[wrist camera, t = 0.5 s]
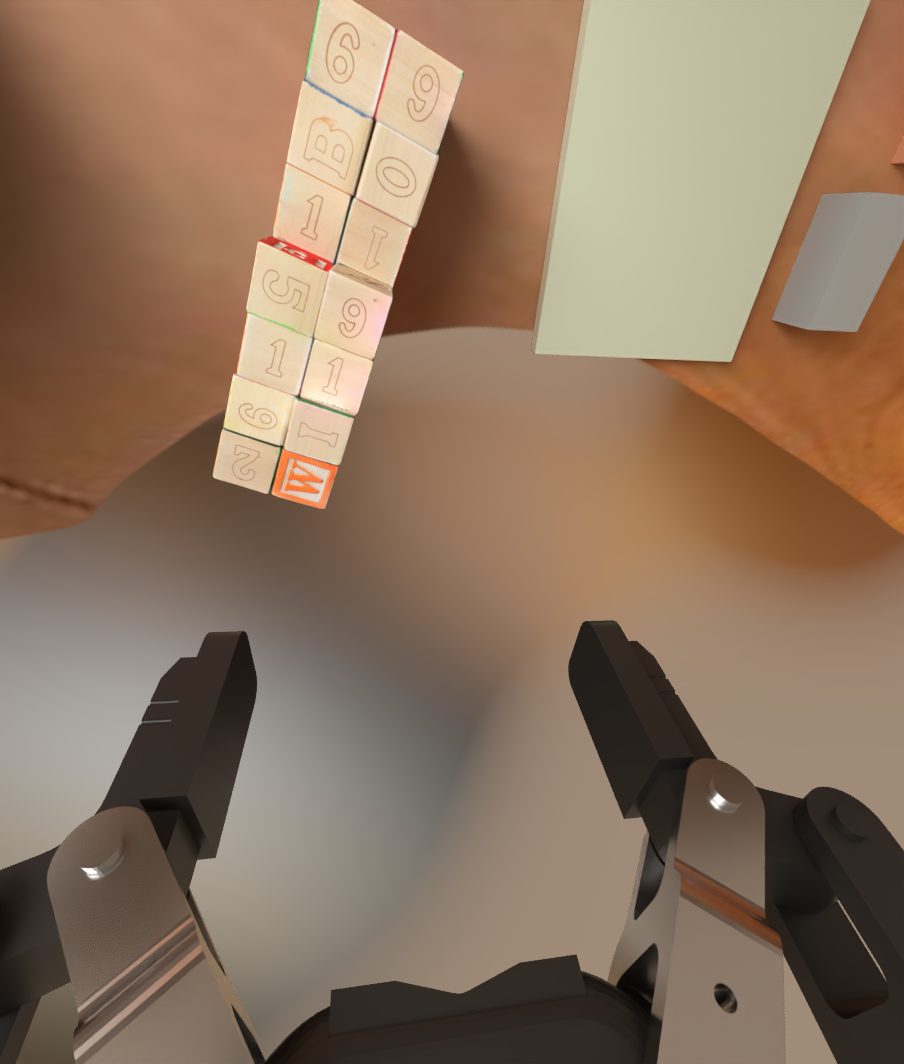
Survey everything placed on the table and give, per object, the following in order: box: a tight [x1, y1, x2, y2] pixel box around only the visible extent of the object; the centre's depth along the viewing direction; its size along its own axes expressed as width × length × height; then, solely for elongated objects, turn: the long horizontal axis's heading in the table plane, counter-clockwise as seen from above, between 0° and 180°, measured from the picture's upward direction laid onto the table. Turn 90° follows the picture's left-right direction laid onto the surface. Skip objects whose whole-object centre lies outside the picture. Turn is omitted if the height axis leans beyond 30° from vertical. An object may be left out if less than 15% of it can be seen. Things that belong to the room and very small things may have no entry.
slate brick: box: [772, 192, 904, 332], centre depth 33 cm, size 8×4×4 cm, turn 177°
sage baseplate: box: [531, 0, 870, 362], centre depth 31 cm, size 20×16×1 cm
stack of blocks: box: [213, 0, 464, 509], centre depth 26 cm, size 21×6×12 cm, turn 156°
